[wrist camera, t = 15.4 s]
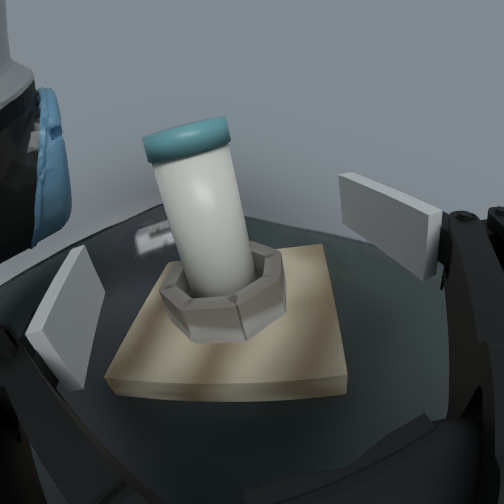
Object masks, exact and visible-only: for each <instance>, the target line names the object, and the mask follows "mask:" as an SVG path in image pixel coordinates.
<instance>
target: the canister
mask: <svg viewBox="0 0 504 504" xmlns="http://www.w3.org/2000/svg"><path fill="white" fill-rule="evenodd" d="M142 140H143V143H144V148H145V152H146V156H147V159H148V162H149V163H152V165H153V170H154V173H155V177H156V180H157V184H158V187H159V191H160V194H161V198H162V201H163V205H164V208H165V211H166V215H167V218H168V221H169V225H170V228H171V231H172V234H173V238H174V241H175V244H176V247H177V250H178V253H179V256H180V259H181V262H182V265H183V268H184V271H185V274H186V277H187V280H188V283H189V286H190V289H191V292H192V295H193V298H194V299H195V298H208V297H220V296H231V295H233V294H235V293H236V292H238V291H240V290H241V289H243V288H245V287H246V286H248V285H250V284H251V283H253V282H254V281H256V280H257V276H256V271H255V267H254V262H253V257H252V253H251V248H250V243H249V238H248V234H247V229H246V224H245V220H244V215H243V210H242V206H241V201H240V196H239V191H238V187H237V182H236V177H235V173H234V168H233V163H232V158H231V154H230V149H229V144H228V142H230V141H231V138H230V133H229V129H228V124H227V119H226V116H221V117H216V118H211V119H206V120H201V121H197V122H193V123H189V124H185V125H181V126H177V127H173V128H170V129H167V130H163V131H160V132H157V133H154V134H151V135H148V136H145V137H142Z"/></svg>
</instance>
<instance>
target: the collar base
mask: <svg viewBox="0 0 504 504" xmlns="http://www.w3.org/2000/svg"><path fill="white" fill-rule="evenodd" d="M249 243H250V248H251V253H252V257H253V262H254V267H255V271H256V276H257V280H256V281H254V282H253V283H251V284H250V285H248V286H246V287H245V288H243V289H241V290H240V291H238V292H236V293H235V294H233V295H231V296H220V297H208V298H195V299H194V298H193V295H192V292H191V289H190V286H189V283H188V280H187V277H186V274H185V271H184V268H183V265H182V262H181V260H180V261H175V262H169V263H168V264H167V266H166V268H165V269H164V271H163V273H162V274H161V276H160V278H159V279H158V281H157V283H156V284H155V286H154V288H153V289H152V291H151V293H150V294H149V296H148V298H147V300H146V301H145V303H144V305H143V307H142V308H141V310H140V312H139V314H138V315H137V317H136V319H135V321H134V322H133V324H132V326H131V328H130V329H129V331H128V333H127V335H126V337H125V338H124V340H123V342H122V344H121V346H120V348H119V349H118V351H117V353H116V355H115V357H114V359H113V361H112V363H111V364H110V366H109V368H108V370H107V372H106V374H105V376H104V379H105V380H106V382H107V383H108V385H109V386H110V387H111V389H112V390H113V391H114V393H115V394H116V395H121V396H129V397H139V398H149V399H161V400H177V401H199V402H258V401H280V400H295V399H308V398H318V397H328V396H337V395H345V394H346V392H347V368H346V362H345V356H344V350H343V344H342V339H341V333H340V328H339V322H338V317H337V312H336V306H335V301H334V296H333V291H332V287H331V282H330V277H329V272H328V268H327V263H326V259H325V254H324V250H323V245H322V244H317V245H308V246H300V247H292V248H283V249H273V248H270V247H268V246H265V245H262V244H259V243H257V242H254V241H249Z"/></svg>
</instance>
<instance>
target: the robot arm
mask: <svg viewBox="0 0 504 504" xmlns="http://www.w3.org/2000/svg"><path fill="white" fill-rule="evenodd" d="M338 176H339V186H340V197H341V209H342V223H343V224H345V225H346V226H347V227H349V228H350V229H352V230H353V231H355V232H356V233H358V234H359V235H361V236H362V237H363V238H365V239H366V240H368V241H369V242H371V243H372V244H373V245H375V246H376V247H378V248H379V249H380V250H382V251H383V252H385V253H386V254H387V255H389V256H390V257H391V258H393V259H394V260H396V261H397V262H398V263H400V264H401V265H402V266H404V267H405V268H406V269H408V270H409V271H410V272H412V273H413V274H414V275H416V276H417V277H418V278H420V279H421V280H422V281H424V280H426V279H428V278H430V277H432V276H434V275H436V270H437V263H438V261H439V262H440V263H442V264H443V265H444V269H443V275H442V281H441V287H440V290H443V287H444V288H445V297H446V308H447V320H448V337H449V404H448V412H447V416H446V419H441V420H436V421H432V422H431V421H430V420H429V418H428V417H427V416H426V414H425V413H423V414H422V415H420V416H419V417H417V418H415V419H414V420H412V421H410V422H409V423H407V424H405V425H403V426H402V427H400V428H398V429H396V430H395V431H393V432H391V433H389V434H387V435H386V436H385V437H384V438H382V439H381V440H380V441H379V442H378V443H377V444H376V445H374V446H373V447H372V448H371V449H370V450H368V451H367V452H366V453H365V454H363V455H362V456H361V457H360V458H358V459H357V460H356V461H355V462H353V463H352V464H351V465H349V466H347V467H344V468H340V469H335V470H330V471H324V472H318V473H311V474H304V475H297V476H291V477H288V478H285V479H282V480H279V481H276V482H272V483H269V484H266V485H262V486H259V487H255V488H252V489H248V490H244V491H243V493H244V496H245V499H246V501H245V502H243V503H241V504H504V207H500V206H498V207H491V208H489V209H488V217H487V219H486V220H480V219H479V218H478V217H477V216H476V215H475V214H473V213H470V212H467V211H455V212H452V213H450V215H449V214H447V213H445V212H443V211H442V210H440V209H438V208H436V207H433V206H431V205H429V204H427V203H425V202H423V201H420V200H418V199H416V198H414V197H411V196H409V195H407V194H404V193H402V192H400V191H397V190H395V189H393V188H390V187H387V186H385V185H383V184H380V183H378V182H375V181H373V180H370V179H368V178H365V177H363V176H360V175H357V174H355V173H352V172H348V173H344V174H339V175H338ZM71 206H72V198H71V186H70V177H69V170H68V162H67V155H66V149H65V143H64V139H63V137H62V128H61V116H60V111H59V106H58V101H57V97H56V95H55V93H54V91H53V90H52V89H51V88H39V89H37V90H36V89H35V82H34V75H33V72H32V70H30V69H28V68H27V67H24V66H23V65H21V64H19V63H17V62H15V61H13V60H12V59H11V57H10V51H9V43H8V33H7V22H6V0H0V264H1V263H2V262H4V261H6V260H8V259H10V258H12V257H13V256H15V255H17V254H19V253H21V252H23V251H25V250H27V249H29V248H30V249H32V248H33V247H35V246H36V245H37V243H38V242H39V241H41V240H43V239H45V238H46V237H48V236H50V235H52V234H53V233H55V232H57V231H59V230H60V229H62V227H63V226H64V225H65V224H66V222H67V221H68V219H69V217H70V214H71V208H72V207H71ZM104 295H105V290H104V288H103V286H102V284H101V282H100V279H99V277H98V275H97V273H96V270H95V268H94V266H93V264H92V261H91V259H90V257H89V254H88V252H87V249H86V247H85V245H82V246H79V247H77V248H74V249H71V251H70V253H69V254H68V256H67V258H66V259H65V261H64V262H63V264H62V266H61V267H60V269H59V271H58V273H57V274H56V276H55V278H54V279H53V281H52V283H51V285H50V287H49V288H48V290H47V292H46V294H45V296H44V298H43V299H42V301H41V303H40V305H39V306H38V307H37V308H36V309H35V311H34V312H33V313H32V315H31V317H30V319H29V320H30V321H28V323H27V325H26V328H25V329H24V331H23V333H22V335H21V338H20V340H19V338H18V337H17V335H16V334H15V332H14V330H13V329H12V327H11V326H10V325H9V324H8V323H7V324H2V325H0V504H47V502H46V499H45V496H44V493H43V490H42V487H41V484H40V481H39V478H38V474H37V471H36V468H35V464H34V460H33V456H32V453H31V448H30V444H29V440H30V442H31V444H32V446H33V448H34V449H35V451H36V453H37V455H38V456H39V458H40V460H41V461H42V463H43V465H44V466H45V468H46V470H47V471H48V473H49V475H50V476H51V478H52V479H53V481H54V482H55V484H56V485H57V487H58V488H59V490H60V491H61V493H62V494H63V495H64V497H65V498H66V500H67V501H68V502H69V504H165V503H164V502H163V501H162V500H161V499H159V498H158V497H157V496H156V495H155V494H153V493H152V492H151V491H150V490H149V489H148V488H146V487H145V486H144V485H143V484H142V483H141V482H140V481H139V480H137V479H136V478H135V477H134V476H133V475H132V474H131V473H130V472H129V471H128V470H127V469H126V468H125V467H124V466H123V465H122V464H121V463H120V462H119V461H118V460H117V459H116V458H115V457H114V456H113V455H112V454H111V453H110V452H109V451H108V450H107V449H106V448H105V447H104V446H103V445H102V444H101V443H100V442H99V440H98V439H97V438H96V437H95V436H94V435H93V434H92V433H91V432H90V430H89V429H88V428H87V427H86V426H85V425H84V423H83V422H82V421H81V420H80V419H79V417H78V416H77V415H76V414H75V412H74V411H73V410H72V409H71V407H70V406H69V405H68V404H67V402H66V401H65V400H64V398H63V397H62V396H61V395H60V393H59V392H58V391H57V390H56V388H57V384H58V381H59V383H60V384H61V385H62V386H63V388H64V389H65V390H66V391H67V392H69V391H75V390H81V389H84V384H85V378H86V373H87V368H88V363H89V358H90V353H91V348H92V344H93V339H94V335H95V330H96V326H97V322H98V318H99V314H100V310H101V306H102V303H103V299H104ZM28 438H29V440H28Z"/></svg>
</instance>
